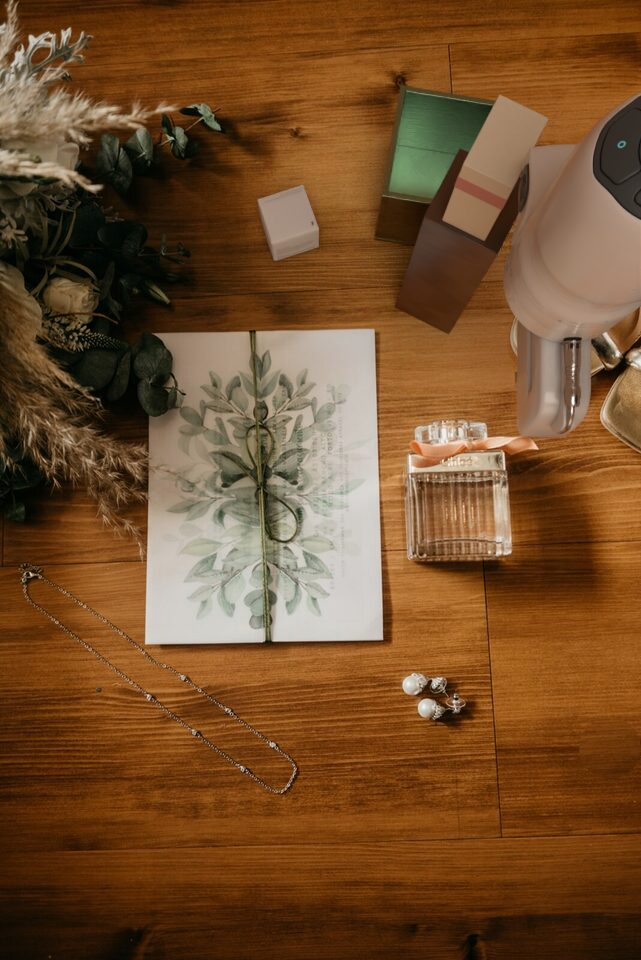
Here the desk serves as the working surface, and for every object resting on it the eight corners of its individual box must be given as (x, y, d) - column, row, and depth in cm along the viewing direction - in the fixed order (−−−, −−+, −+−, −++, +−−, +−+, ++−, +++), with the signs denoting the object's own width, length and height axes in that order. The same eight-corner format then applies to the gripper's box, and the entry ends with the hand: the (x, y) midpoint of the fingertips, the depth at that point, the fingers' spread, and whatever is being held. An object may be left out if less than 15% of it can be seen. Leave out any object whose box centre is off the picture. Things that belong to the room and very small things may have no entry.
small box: (305, 203, 85) (304, 182, 80) (320, 248, 84) (320, 229, 79) (259, 218, 84) (255, 198, 79) (274, 263, 84) (271, 245, 79)
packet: (516, 180, 61) (550, 117, 52) (484, 242, 60) (513, 189, 51) (472, 159, 61) (499, 92, 52) (440, 220, 60) (462, 164, 52)
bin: (492, 158, 85) (516, 103, 75) (476, 256, 84) (499, 215, 73) (390, 141, 85) (400, 84, 75) (374, 239, 84) (381, 195, 74)
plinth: (475, 282, 84) (534, 183, 61) (448, 334, 83) (497, 254, 60) (421, 255, 84) (460, 147, 61) (394, 307, 83) (423, 217, 61)
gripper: (623, 429, 47) (561, 449, 60) (623, 123, 48) (562, 212, 62) (525, 427, 47) (485, 448, 61) (527, 123, 48) (488, 211, 62)
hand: (524, 327), depth 61 cm, fingers open, 8 cm apart
